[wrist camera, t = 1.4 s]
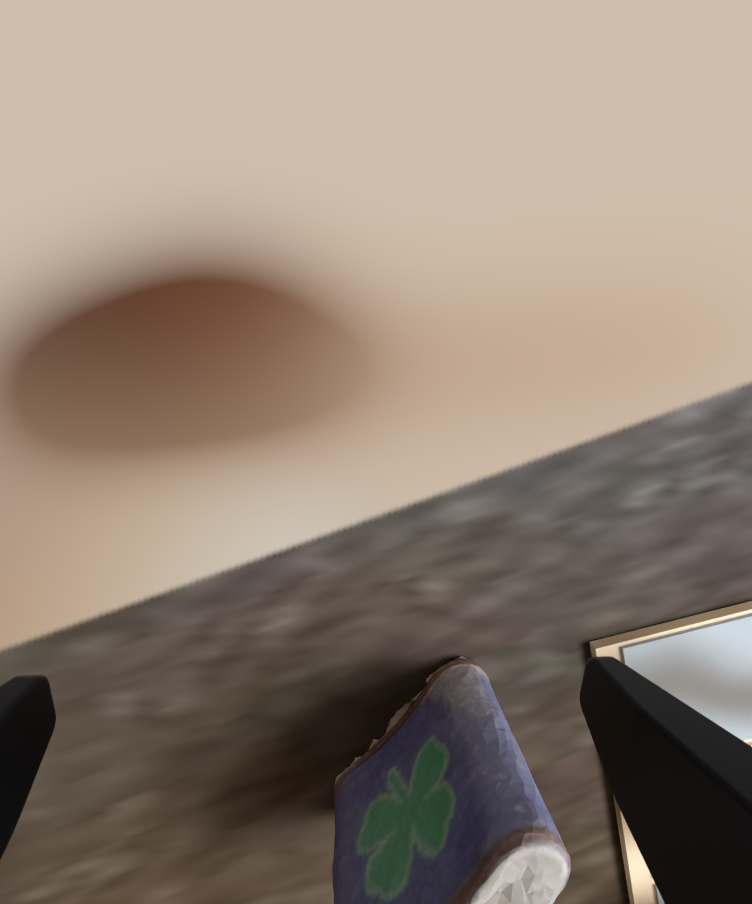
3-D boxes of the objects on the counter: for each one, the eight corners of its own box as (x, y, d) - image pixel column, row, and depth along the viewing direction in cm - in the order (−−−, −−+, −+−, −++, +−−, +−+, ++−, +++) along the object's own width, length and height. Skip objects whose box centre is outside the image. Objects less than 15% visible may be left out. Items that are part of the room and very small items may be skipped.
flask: (456, 644, 24) (561, 896, 13) (504, 681, 25) (644, 953, 14) (318, 790, 25) (307, 1143, 14) (368, 823, 26) (394, 1187, 15)
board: (793, 932, 29) (806, 948, 29) (641, 975, 29) (649, 992, 28) (768, 596, 25) (782, 604, 24) (589, 641, 25) (597, 651, 24)
